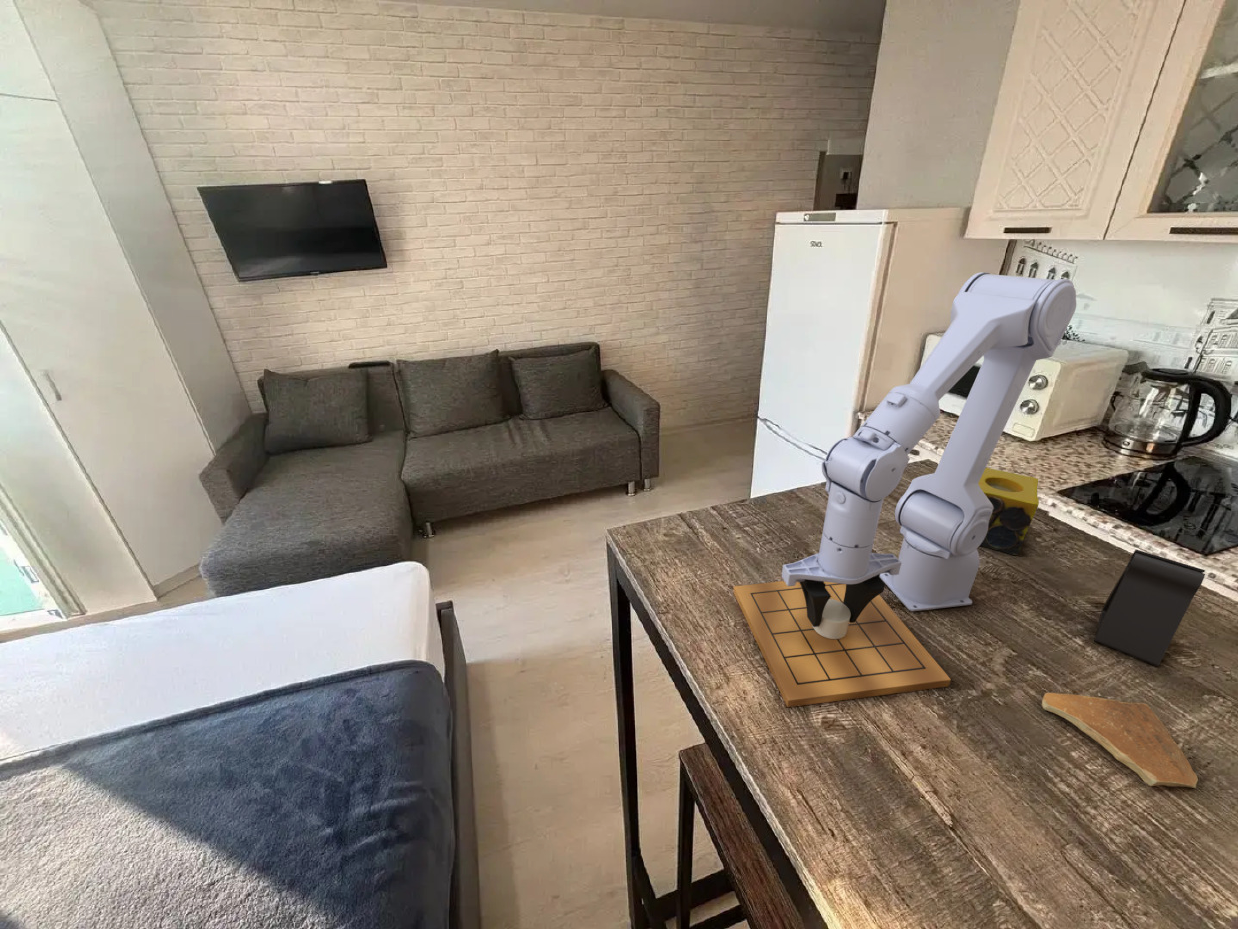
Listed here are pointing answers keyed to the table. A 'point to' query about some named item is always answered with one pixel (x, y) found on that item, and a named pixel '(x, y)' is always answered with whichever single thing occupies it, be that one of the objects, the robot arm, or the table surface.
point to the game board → (834, 648)
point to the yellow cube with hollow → (1008, 508)
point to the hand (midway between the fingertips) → (831, 619)
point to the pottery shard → (1127, 736)
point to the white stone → (834, 620)
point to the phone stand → (1147, 606)
